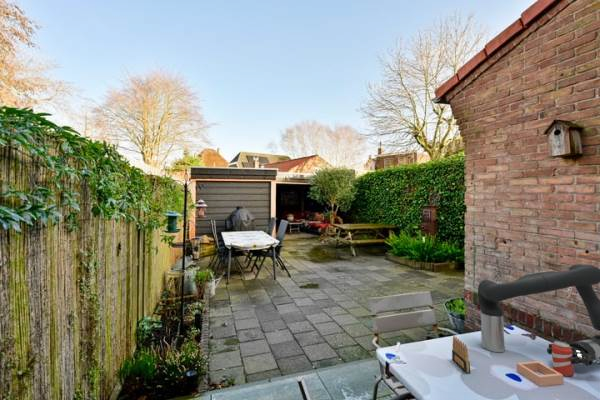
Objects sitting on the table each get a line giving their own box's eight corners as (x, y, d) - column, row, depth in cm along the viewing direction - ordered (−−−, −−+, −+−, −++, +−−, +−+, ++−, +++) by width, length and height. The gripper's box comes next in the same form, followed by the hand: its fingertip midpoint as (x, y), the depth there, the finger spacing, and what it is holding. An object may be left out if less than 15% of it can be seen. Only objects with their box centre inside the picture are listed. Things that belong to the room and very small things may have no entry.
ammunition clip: (470, 373, 119) (469, 345, 120) (466, 373, 119) (464, 345, 120) (456, 360, 130) (454, 334, 130) (452, 360, 130) (450, 334, 130)
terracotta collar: (540, 386, 110) (539, 377, 110) (516, 371, 120) (516, 363, 120) (563, 384, 111) (563, 375, 111) (538, 369, 121) (538, 361, 121)
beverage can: (553, 367, 123) (552, 339, 123) (573, 372, 118) (572, 343, 118) (552, 372, 118) (550, 344, 119) (573, 379, 114) (571, 349, 114)
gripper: (565, 334, 129) (540, 340, 125) (606, 349, 116) (579, 355, 111) (566, 351, 129) (541, 357, 125) (607, 367, 116) (581, 375, 111)
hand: (559, 356), depth 118 cm, fingers open, 8 cm apart
